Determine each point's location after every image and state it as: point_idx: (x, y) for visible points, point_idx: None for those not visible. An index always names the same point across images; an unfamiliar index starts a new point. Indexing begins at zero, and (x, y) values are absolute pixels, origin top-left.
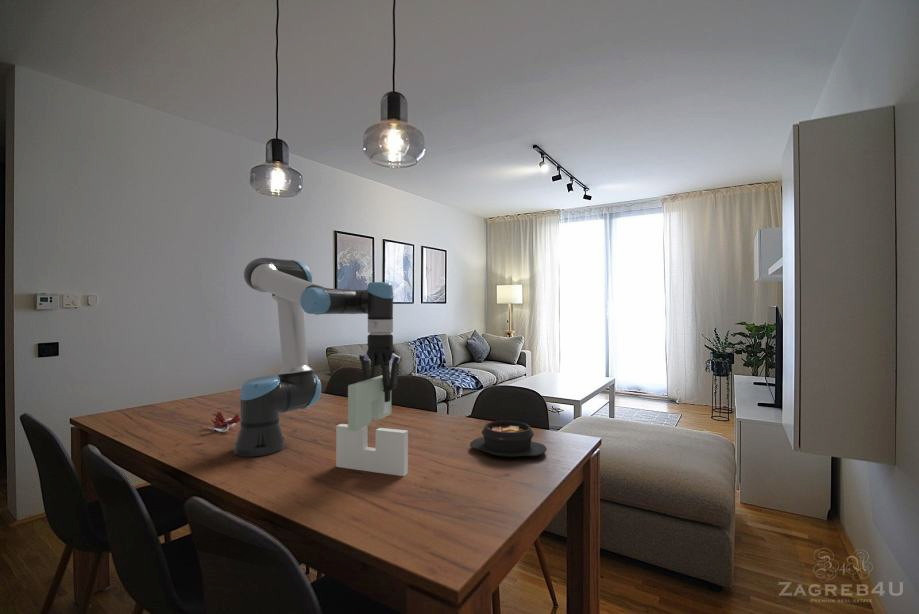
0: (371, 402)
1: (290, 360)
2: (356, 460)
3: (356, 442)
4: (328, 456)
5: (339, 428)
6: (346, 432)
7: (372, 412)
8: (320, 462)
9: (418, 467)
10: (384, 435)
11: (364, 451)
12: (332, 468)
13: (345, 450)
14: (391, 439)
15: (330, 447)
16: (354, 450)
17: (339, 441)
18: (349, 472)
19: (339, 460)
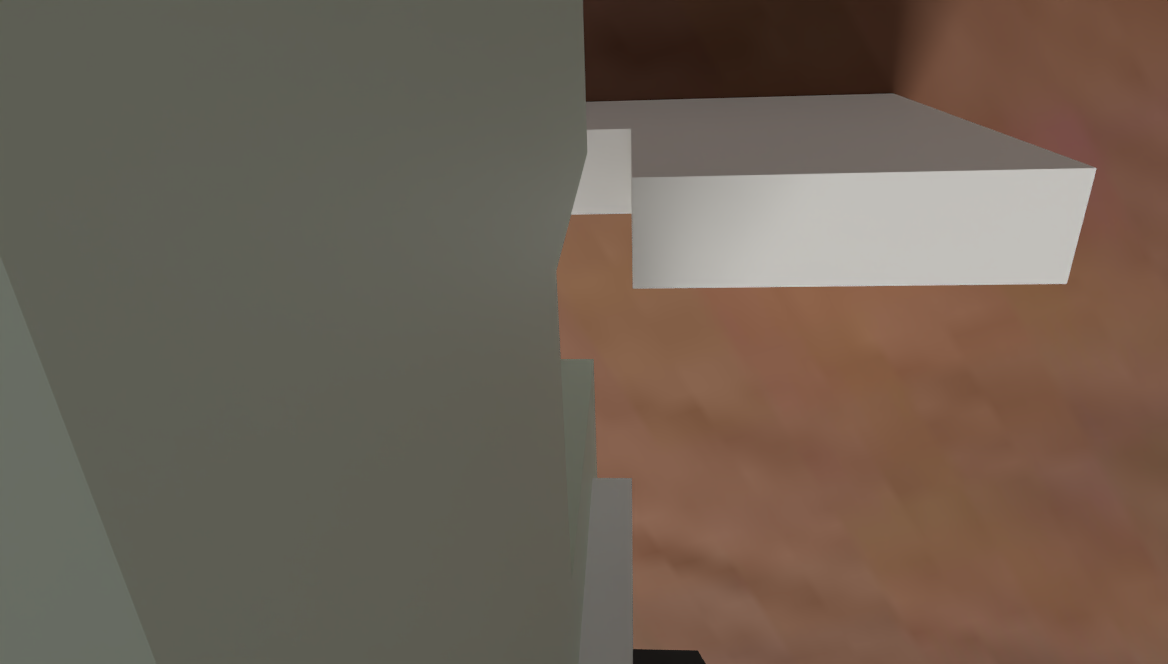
0: (570, 524)
1: None
2: (699, 108)
3: (719, 139)
4: (1072, 275)
5: (1023, 162)
6: (887, 154)
7: (563, 413)
8: (1082, 134)
9: None
10: None
11: (615, 125)
12: (908, 50)
13: (839, 118)
14: None
15: (1144, 445)
16: (733, 124)
17: (948, 131)
18: (718, 24)
19: (877, 101)
